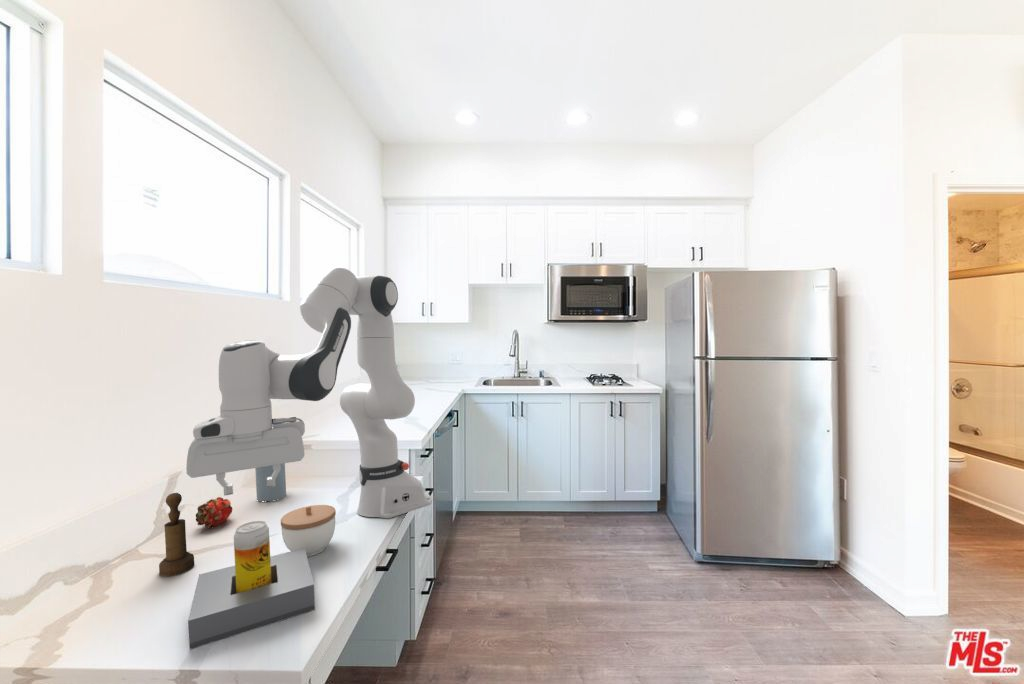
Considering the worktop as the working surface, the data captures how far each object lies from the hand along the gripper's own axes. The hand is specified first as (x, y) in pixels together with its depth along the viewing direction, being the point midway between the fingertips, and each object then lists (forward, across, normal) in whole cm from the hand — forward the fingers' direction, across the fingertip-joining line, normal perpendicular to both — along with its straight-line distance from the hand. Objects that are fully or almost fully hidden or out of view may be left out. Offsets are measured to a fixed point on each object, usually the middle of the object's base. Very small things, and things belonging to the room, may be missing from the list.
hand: (250, 490), depth 89 cm
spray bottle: (+23, -5, -69) cm, 73 cm away
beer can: (+22, 0, +1) cm, 22 cm away
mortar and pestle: (+23, +16, -27) cm, 39 cm away
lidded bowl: (+23, -12, -19) cm, 32 cm away
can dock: (+23, 0, 0) cm, 23 cm away
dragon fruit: (+23, +10, -53) cm, 59 cm away
